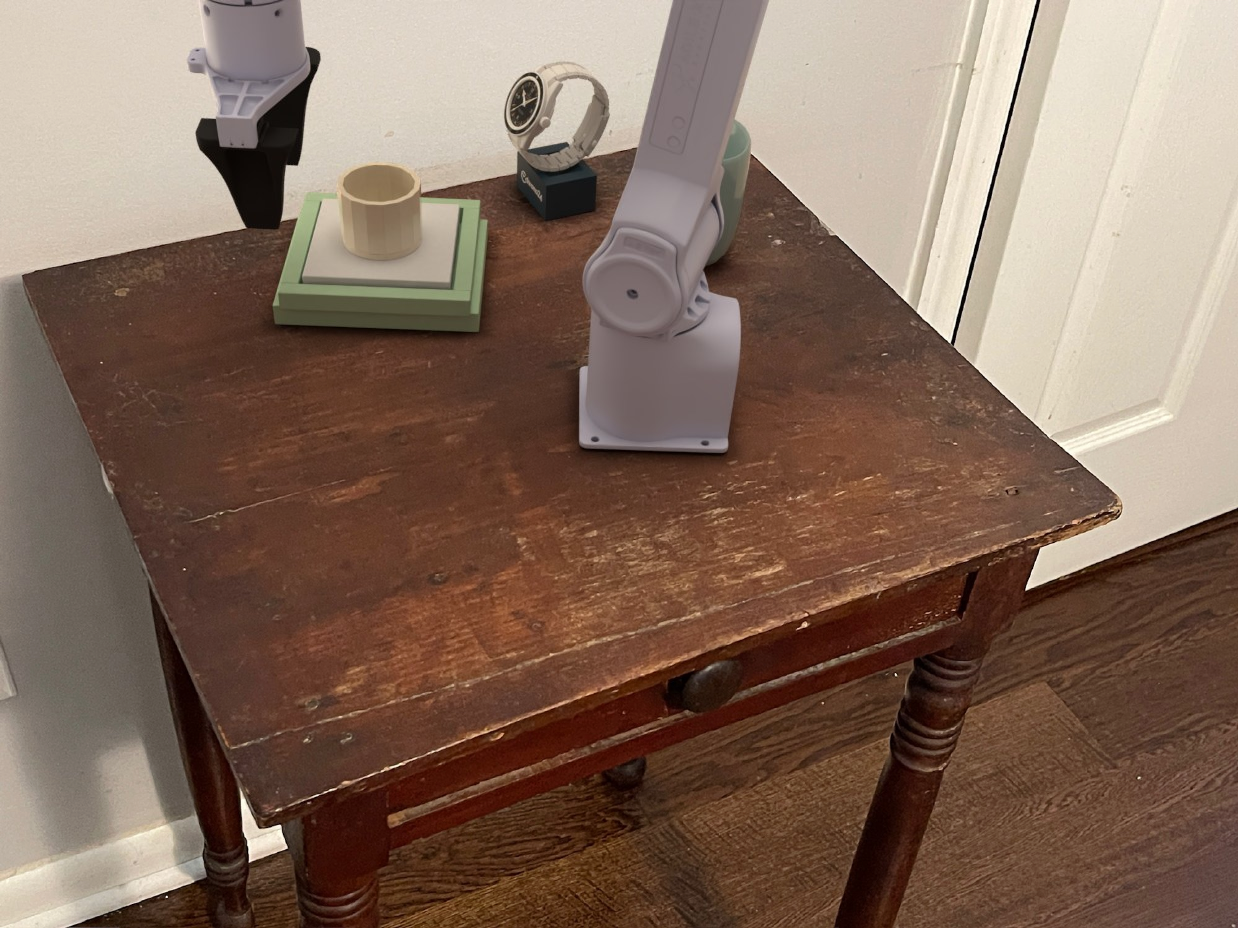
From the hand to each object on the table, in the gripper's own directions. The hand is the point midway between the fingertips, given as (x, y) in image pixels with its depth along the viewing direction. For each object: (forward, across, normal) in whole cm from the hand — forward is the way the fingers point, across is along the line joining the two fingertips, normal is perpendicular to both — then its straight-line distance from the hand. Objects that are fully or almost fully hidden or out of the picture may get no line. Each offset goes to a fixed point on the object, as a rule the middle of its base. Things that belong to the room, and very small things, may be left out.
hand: (273, 193), depth 86 cm
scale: (+10, -6, +6) cm, 13 cm away
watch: (+11, -18, +18) cm, 28 cm away
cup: (+11, -11, +28) cm, 32 cm away
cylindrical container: (+7, -6, +6) cm, 11 cm away
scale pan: (+9, -6, +6) cm, 12 cm away
